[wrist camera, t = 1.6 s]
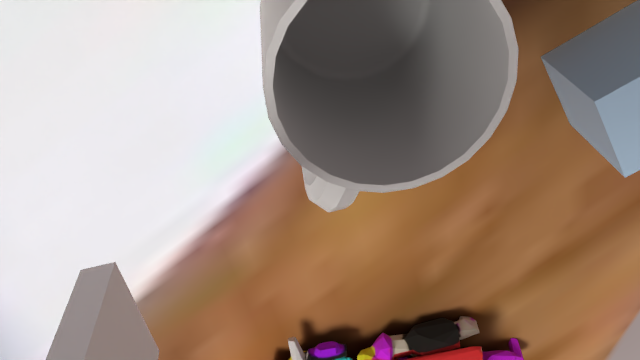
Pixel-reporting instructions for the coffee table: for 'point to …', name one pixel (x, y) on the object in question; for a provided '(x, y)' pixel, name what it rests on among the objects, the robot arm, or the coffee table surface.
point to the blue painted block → (603, 86)
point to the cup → (384, 88)
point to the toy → (414, 345)
